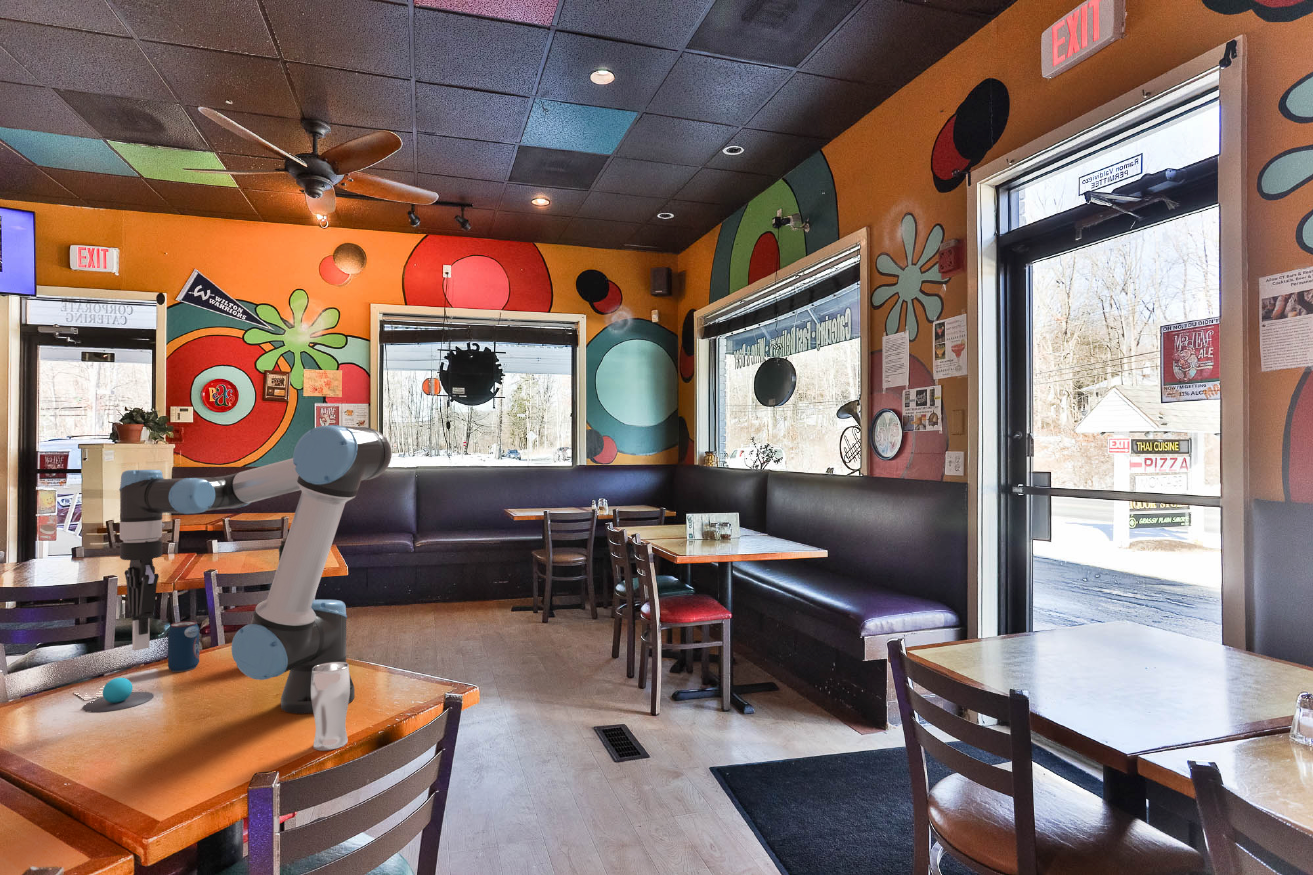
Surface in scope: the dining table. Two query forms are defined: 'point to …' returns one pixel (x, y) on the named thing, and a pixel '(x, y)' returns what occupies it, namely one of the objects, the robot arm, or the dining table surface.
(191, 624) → the soda can
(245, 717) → the dining table surface
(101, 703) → the grey flat disc
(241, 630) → the robot arm
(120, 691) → the ball
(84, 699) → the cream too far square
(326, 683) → the beer glass
